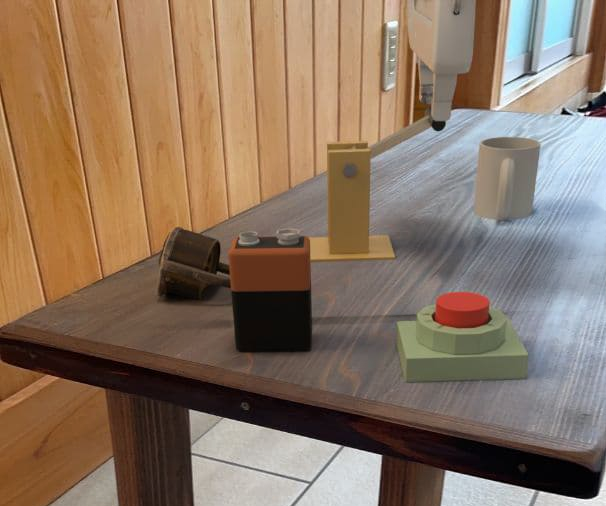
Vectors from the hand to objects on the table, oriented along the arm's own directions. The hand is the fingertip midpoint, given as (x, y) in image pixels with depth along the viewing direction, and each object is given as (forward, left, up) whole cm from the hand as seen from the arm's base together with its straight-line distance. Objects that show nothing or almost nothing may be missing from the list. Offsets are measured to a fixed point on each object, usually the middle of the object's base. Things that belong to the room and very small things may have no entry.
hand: (433, 111), depth 89 cm
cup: (-11, -12, -15) cm, 22 cm away
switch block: (+1, +29, -15) cm, 33 cm away
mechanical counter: (+23, +13, -15) cm, 30 cm away
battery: (+17, +24, -15) cm, 33 cm away
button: (+1, +29, -11) cm, 31 cm away
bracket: (+9, 0, -15) cm, 17 cm away
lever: (+4, 0, -4) cm, 6 cm away
